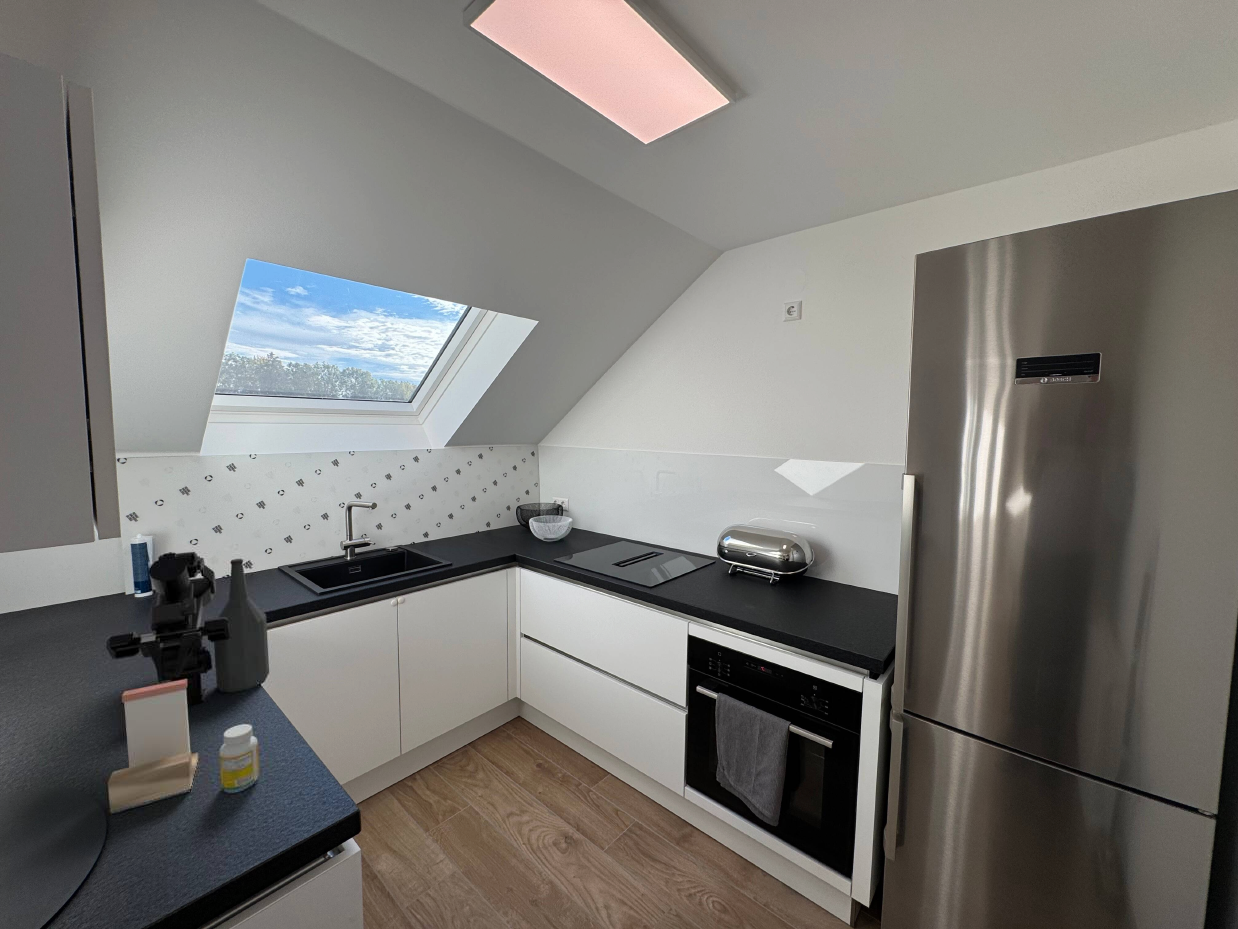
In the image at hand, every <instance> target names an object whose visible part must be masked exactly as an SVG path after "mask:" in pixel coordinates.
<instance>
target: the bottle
mask: <svg viewBox="0 0 1238 929" xmlns="http://www.w3.org/2000/svg"><path fill="white" fill-rule="evenodd" d="M243 563H244V559H242V558H234V559H231V561H230V565H231V568H230V582H229V594H228V601H227V602H226V604H225V605H224V608H223V609H222V610H221V612H220V613H219V615H218V617H217V618H220V617H226V618H228V620H229V624H230V639H228V640H224V641H218V642H213V649H214V650H213V651H214V663H215V664H214V665H215V666H214V667H215V676H216V677H215V678H216V679H215V680H216V688H217V689H219V691H220V692H223V691H228V692H227V693H230V692H233V693H235V692H234V691H239V692H243V691H242V690H245V691H248V690H250V689H253V688H256V687H258V686H261V685H262V684H263V683H265V682H266V680H267V679H268V676H269V674H270V667H269V666H270V664H269V663H270V662H269V660H270V659H269V644H268V642H269V641H268V626H267V625H268V622H267V615H266V613H265V612H264V611H263V610H262V609H261V608H260V607H259V606H258V604H256V603H255V602H254V601H253V599H252V598H251V597H249V592H248V591H249V590H248V588H247V587H248V586H247V581H246V575H245V571H244V565H243ZM257 682H258V683H259V684H260V685H258V683H257Z"/></svg>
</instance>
